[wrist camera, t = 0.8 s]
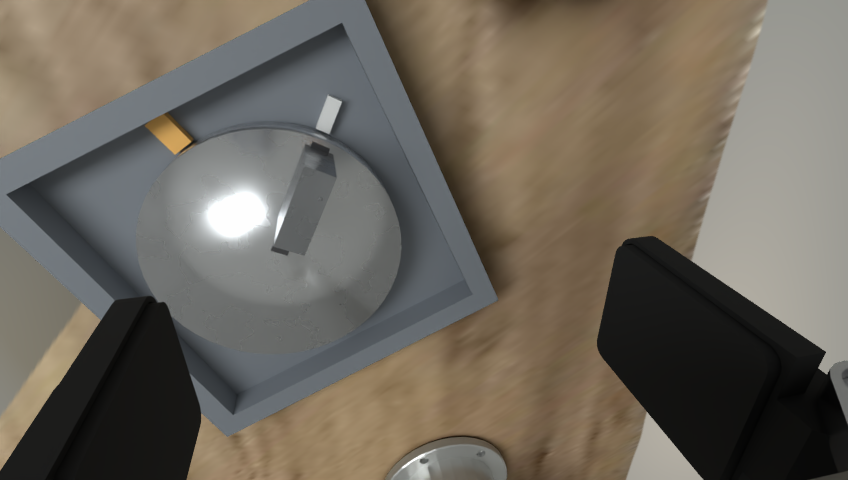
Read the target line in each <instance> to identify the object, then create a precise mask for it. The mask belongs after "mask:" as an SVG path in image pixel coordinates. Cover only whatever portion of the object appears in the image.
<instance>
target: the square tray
mask: <svg viewBox="0 0 848 480" xmlns="http://www.w3.org/2000/svg"><path fill="white" fill-rule="evenodd" d="M267 121H271V122H284V123H291V124H296V125H301V126H306V127H309V128H312V129H315V130H318V131H321V132H323V133H325V134H327V135H329V136H331V137H333V138H335V139H338V140H339V141H341V142H342V143H344V144H345V145H347V146H348V147H350V148H351V149H353V150H354V151H355V152H356V153H357V154H358V155H360V156H361V157H362V158H363V159H364V160H365V161H366V162H367V163H368V164H369V165H370V166H371V168H372V169H373V170H374V171H375V172H376V174H377V175H378V177H379V178H380V180H381V181H382V183H383V185H384V187H385V189H386V191H387V193H388V195H389V197H390V199H391V202H392V204H393V206H394V209H395V212H396V215H397V218H398V221H399V227H400V232H401V257H400V264H399V268H398V272H397V276H396V278H395V280H394V283H393V285H392V288H391V289H390V291H389V293H388V295H387V296H386V298H385V300H384V301H383V302H382V304H381V305H380V306H379V307H378V309H377V310H376V311H375V312H374V313H373V314H372V315H371V316H370V317H369V318H368V319H367V320H366V321H365V322H364V323H362V324H361V325H360V326H359V327H357V328H356V329H355V330H353V331H352V332H350V333H348V334H347V335H345V336H344V337H342V338H339V339H337V340H335V341H333V342H331V343H329V344H326V345H323V346H320V347H318V348H314V349H310V350H306V351H302V352H295V353H288V354H257V353H250V352H243V351H238V350H235V349H231V348H227V347H224V346H221V345H218V344H216V343H213V342H210V341H208V340H206V339H204V338H202V337H200V336H198V335H196V334H195V333H193V332H192V331H190V330H189V329H187V328H186V327H184V326H183V325H181V324H180V323H179V322H178V321H177V320H175V319H174V318H173V317H172V316H171V317H172V320H173V323H174V327H175V330H176V333H177V336H178V339H179V342H180V345H181V348H182V351H183V354H184V357H185V361H186V364H187V367H188V370H189V373H190V376H191V379H192V382H193V385H194V388H195V391H196V395H197V398H198V401H199V404H200V408H201V413H202V414H203V415H204V416H205V417H206V418H208V419H209V420H210V421H211V422H212V423H213V424H214V425H215V426H216V427H217V428H218V429H219V430H221V431H222V432H223V433H224V434H225V435H226V436H227V437H228V436H230V435H232V434H234V433H236V432H238V431H240V430H242V429H244V428H246V427H248V426H250V425H252V424H254V423H256V422H258V421H259V420H261V419H263V418H265V417H267V416H269V415H271V414H273V413H275V412H277V411H279V410H281V409H283V408H285V407H287V406H289V405H291V404H293V403H295V402H297V401H299V400H301V399H303V398H305V397H307V396H309V395H311V394H313V393H315V392H317V391H319V390H321V389H323V388H325V387H327V386H329V385H331V384H333V383H335V382H337V381H339V380H341V379H343V378H345V377H347V376H349V375H351V374H353V373H355V372H357V371H359V370H361V369H363V368H365V367H367V366H369V365H371V364H373V363H375V362H377V361H379V360H380V359H382V358H384V357H386V356H388V355H390V354H392V353H394V352H396V351H398V350H400V349H402V348H404V347H406V346H408V345H410V344H412V343H414V342H416V341H418V340H420V339H422V338H424V337H426V336H428V335H430V334H432V333H434V332H436V331H438V330H440V329H442V328H444V327H446V326H448V325H450V324H452V323H454V322H456V321H458V320H460V319H462V318H464V317H466V316H468V315H470V314H472V313H474V312H476V311H478V310H480V309H482V308H484V307H486V306H488V305H490V304H492V303H494V302H496V301H498V298H497V296H496V293H495V291H494V289H493V287H492V284H491V282H490V280H489V278H488V275H487V273H486V271H485V269H484V266H483V264H482V262H481V260H480V257H479V255H478V253H477V251H476V248H475V246H474V244H473V242H472V239H471V237H470V235H469V233H468V230H467V228H466V226H465V224H464V221H463V219H462V217H461V215H460V213H459V210H458V208H457V206H456V204H455V201H454V199H453V197H452V195H451V192H450V190H449V188H448V186H447V183H446V181H445V179H444V177H443V174H442V172H441V170H440V168H439V165H438V163H437V161H436V159H435V156H434V154H433V152H432V150H431V147H430V145H429V143H428V141H427V138H426V136H425V134H424V132H423V129H422V127H421V125H420V123H419V120H418V118H417V116H416V114H415V111H414V109H413V107H412V105H411V102H410V100H409V98H408V96H407V94H406V91H405V89H404V87H403V85H402V82H401V80H400V78H399V76H398V73H397V71H396V69H395V67H394V64H393V62H392V60H391V58H390V55H389V53H388V51H387V49H386V46H385V44H384V42H383V40H382V37H381V35H380V33H379V31H378V28H377V26H376V24H375V22H374V19H373V17H372V15H371V13H370V10H369V8H368V6H367V4H366V1H365V0H309V1H307V2H305V3H303V4H301V5H299V6H297V7H296V8H294V9H292V10H290V11H288V12H286V13H284V14H282V15H280V16H278V17H276V18H274V19H272V20H270V21H268V22H266V23H264V24H262V25H260V26H258V27H256V28H255V29H253V30H251V31H249V32H247V33H245V34H243V35H241V36H239V37H237V38H235V39H233V40H231V41H229V42H227V43H225V44H223V45H221V46H219V47H217V48H215V49H214V50H212V51H210V52H208V53H206V54H204V55H202V56H200V57H198V58H196V59H194V60H192V61H190V62H188V63H186V64H184V65H182V66H180V67H178V68H176V69H174V70H172V71H171V72H169V73H167V74H165V75H163V76H161V77H159V78H157V79H155V80H153V81H151V82H149V83H147V84H145V85H143V86H141V87H139V88H137V89H135V90H133V91H131V92H130V93H128V94H126V95H124V96H122V97H120V98H118V99H116V100H114V101H112V102H110V103H108V104H106V105H104V106H102V107H100V108H98V109H96V110H94V111H92V112H90V113H89V114H87V115H85V116H83V117H81V118H79V119H77V120H75V121H73V122H71V123H69V124H67V125H65V126H63V127H61V128H59V129H57V130H55V131H53V132H51V133H49V134H47V135H46V136H44V137H42V138H40V139H38V140H36V141H34V142H32V143H30V144H28V145H26V146H24V147H22V148H20V149H18V150H16V151H14V152H12V153H10V154H8V155H6V156H5V157H3V158H1V159H0V227H1V228H2V229H3V230H4V231H5V232H6V233H7V234H8V235H9V236H11V237H12V238H13V239H14V240H15V241H16V242H17V243H18V244H19V245H20V246H21V247H22V248H24V249H25V250H26V251H27V252H28V253H29V254H30V255H31V256H32V257H33V258H34V259H35V260H36V261H38V262H39V263H40V264H41V265H42V266H43V267H44V268H45V269H46V270H47V271H48V272H50V273H51V274H52V275H53V276H54V277H55V278H56V279H57V280H58V281H59V282H60V283H62V285H64V286H65V287H66V288H67V289H68V290H69V291H70V292H71V293H72V294H73V295H74V296H75V297H77V298H78V299H79V300H80V301H81V302H82V303H83V304H84V305H85V306H86V307H87V308H88V309H90V310H91V311H92V312H93V313H94V314H95V315H96V316H97V317H98V318H99V319H100V320H102V318H103V317H104V315H105V314H106V312H107V311H108V309H109V308H110V306H111V304H112V303H113V302H114V301H115V300H118V299H126V298H135V297H143V296H152V297H154V298H155V296H154V295H153V293H152V292H151V290H150V289H149V287H148V285H147V283H146V281H145V279H144V277H143V274H142V271H141V268H140V265H139V261H138V255H137V249H136V229H137V223H138V217H139V213H140V210H141V207H142V205H143V202H144V199H145V197H146V195H147V194H148V192H149V190H150V188H151V187H152V185H153V183H154V182H155V181H156V180H157V178H158V177H159V176H160V175H161V173H162V172H163V171H164V170H165V169H166V168H167V166H168V165H169V164H170V163H171V162H172V161H173V160H174V159H175V158H176V157H177V156H178V155H179V154H180V153H181V152H182V151H184V150H185V149H186V148H187V147H189V146H190V145H192V144H193V143H195V142H196V141H198V140H199V139H201V138H203V137H205V136H207V135H209V134H211V133H213V132H215V131H218V130H221V129H224V128H227V127H230V126H233V125H239V124H244V123H250V122H267ZM155 300H156V301H157V299H156V298H155ZM157 303H158V301H157Z"/></svg>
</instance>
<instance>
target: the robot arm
mask: <svg viewBox="0 0 848 480" xmlns="http://www.w3.org/2000/svg"><path fill="white" fill-rule="evenodd" d="M597 347H598V351H599V353H600V355H601V356H602V358H603V359H604V360H605V361H606V363H607V364H608V365H609V366H610V367H611V369H612V370H613V371H614V372H615V374H616V375H617V376H618V377H619V378H620V380H621V381H622V382H623V383H624V384H625V386H626V387H627V388H628V389H629V390H630V392H631V393H632V394H633V395H634V396H635V398H636V399H637V400H638V401H639V403H640V404H641V405H642V406H643V407H644V409H645V410H646V411H647V412H648V413H649V415H650V416H651V417H652V418H653V419H654V421H655V422H656V423H657V424H658V425H659V427H660V428H661V429H662V430H663V432H664V433H665V434H666V435H667V436H668V438H670V440H671V441H672V442H673V443H674V445H675V446H676V447H677V448H678V450H679V451H680V452H681V453H682V454H683V456H684V457H685V458H686V459H687V461H688V462H689V463H690V464H691V465H692V467H693V468H694V469H695V470H696V471H697V472H698V474H699V475H700V476H701V477H702V478H703V479H704V480H848V361H842V362H838V363H835V364H834V365H833V366H832V367H831V369H830V370H829V372H828V374H825V373H824V372H822V371H821V370H820V369H818V367H819V365H820V363H821V361H822V359H823V357H824V355H825V353H826V352H825V351H824V350H822V349H821V348H819V347H818V346H816V345H815V344H813V343H812V342H810V341H809V340H807V339H806V338H804V337H803V336H801V335H800V334H798V333H797V332H796V331H794V330H793V329H791V328H789V327H788V326H787V325H785V324H784V323H782V322H781V321H779V320H778V319H776V318H775V317H773V316H772V315H770V314H769V313H767V312H766V311H764V310H763V309H761V308H760V307H759V306H757V305H756V304H754V303H753V302H751V301H749V300H748V299H747V298H745V297H743V296H742V295H741V294H739V293H738V292H736V291H735V290H733V289H732V288H730V287H729V286H727V285H726V284H724V283H723V282H721V281H720V280H718V279H717V278H716V277H714V276H712V275H711V274H710V273H708V272H707V271H705V270H703V269H702V268H701V267H699V266H698V265H696V264H695V263H693V262H692V261H690V260H689V259H687V258H686V257H684V256H683V255H681V254H680V253H679V252H677V251H676V250H674V249H673V248H671V247H670V246H668V245H667V244H665V243H664V242H662V241H661V240H659V239H658V238H656V237H654V236H648V237H639V238H631V239H627V240H625V241H624V242H623V244H622V246H620V247H619V248H618V249H617V251H616V254H615V259H614V263H613V268H612V273H611V277H610V282H609V287H608V291H607V296H606V301H605V306H604V310H603V315H602V320H601V324H600V329H599V334H598V338H597ZM200 424H201V408H200V404H199V401H198V398H197V395H196V391H195V388H194V385H193V382H192V379H191V376H190V373H189V370H188V367H187V364H186V361H185V357H184V354H183V351H182V348H181V345H180V342H179V339H178V336H177V333H176V330H175V327H174V323H173V320H172V317H171V314H170V311H169V308H168V306H167V304H166V303H165V302H158V303H157V301H156V300H155V298H154V297H152V296H143V297H135V298H126V299H118V300H115V301H114V302H113V303H112V304H111V306H110V308H109V309H108V311H107V312H106V314H105V315H104V317H103V318H102V320H101V321H100V323H99V324H98V326H97V327H96V329H95V330H94V332H93V333H92V335H91V336H90V338H89V339H88V341H87V343H86V344H85V346H84V347H83V349H82V350H81V352H80V353H79V355H78V356H77V358H76V359H75V361H74V362H73V364H72V365H71V367H70V368H69V370H68V371H67V373H66V375H65V376H64V378H63V379H62V381H61V382H60V384H59V385H58V386H57V387H56V388H55V389H54V390H53V392H52V394H51V395H50V397H49V398H48V400H47V401H46V403H45V404H44V406H43V407H42V409H41V410H40V412H39V413H38V415H37V416H36V418H35V419H34V421H33V422H32V424H31V425H30V427H29V428H28V430H27V431H26V433H25V434H24V436H23V437H22V439H21V440H20V442H19V443H18V445H17V446H16V448H15V450H14V451H13V453H12V454H11V456H10V457H9V459H8V460H7V462H6V463H5V465H4V466H3V468H2V469H1V471H0V480H186V479H187V475H188V471H189V467H190V463H191V459H192V456H193V452H194V448H195V444H196V440H197V436H198V432H199V428H200ZM385 480H507V467H506V465H505V462H504V460H503V457H502V456H501V454H500V452H499V451H498V450H497V449H496V448H495V447H494V446H493V445H491V444H489V443H488V442H486V441H483V440H480V439H476V438H469V437H452V438H446V439H441V440H437V441H434V442H431V443H428V444H426V445H423V446H421V447H419V448H417V449H415V450H414V451H412V452H410V453H409V454H407V455H406V456H404V457H403V458H402V459H401V460H400V461H399V462H397V463H396V464H395V465H394V467H393V468H392V469H391V470H390V471H389V473H388V474H387V476H386V478H385Z"/></svg>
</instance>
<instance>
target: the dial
mask: <svg viewBox="0 0 848 480" xmlns="http://www.w3.org/2000/svg"><path fill="white" fill-rule="evenodd" d="M136 249H137V255H138V261H139V265H140V268H141V271H142V274H143V277H144V279H145V281H146V283H147V285H148V287H149V289H150V290H151V292H152V293H153V295H154V296H155V298H156V299H157V301H158V302H165V303H166V304H167V306H168V308H169V311H170V314H171V316H172V317H173V318H174V319H175V320H177V321H178V322H179V323H180V324H181V325H183V326H184V327H186V328H187V329H189V330H190V331H192V332H193V333H195V334H196V335H198V336H200V337H202V338H204V339H206V340H208V341H210V342H213V343H216V344H218V345H221V346H224V347H227V348H231V349H235V350H238V351H243V352H250V353H257V354H288V353H295V352H302V351H306V350H310V349H314V348H318V347H320V346H323V345H326V344H329V343H331V342H333V341H335V340H337V339H339V338H342V337H344V336H345V335H347V334H348V333H350V332H352V331H353V330H355V329H356V328H357V327H359V326H360V325H361V324H362V323H364V322H365V321H366V320H367V319H368V318H369V317H370V316H371V315H372V314H373V313H374V312H375V311H376V310H377V309H378V307H379V306H380V305H381V304H382V302H383V301H384V300H385V298H386V296H387V295H388V293H389V291H390V289H391V288H392V285H393V283H394V280H395V278H396V276H397V272H398V268H399V264H400V257H401V232H400V227H399V221H398V218H397V215H396V212H395V209H394V206H393V204H392V202H391V199H390V197H389V195H388V193H387V191H386V189H385V187H384V185H383V183H382V181H381V180H380V178H379V177H378V175H377V174H376V172H375V171H374V170H373V169H372V168H371V166H370V165H369V164H368V163H367V162H366V161H365V160H364V159H363V158H362V157H361V156H360V155H358V154H357V153H356V152H355V151H354V150H353V149H351V148H350V147H348V146H347V145H345V144H344V143H342V142H341V141H339V140H338V139H335V138H333V137H331V136H329V135H327V134H325V133H323V132H321V131H318V130H315V129H312V128H309V127H306V126H301V125H296V124H291V123H284V122H271V121H267V122H250V123H244V124H239V125H233V126H230V127H227V128H224V129H221V130H218V131H215V132H213V133H211V134H209V135H207V136H205V137H203V138H201V139H199V140H198V141H196V142H195V143H193V144H192V145H190V146H189V147H187V148H186V149H185V150H184V151H182V152H181V153H180V154H179V155H178V156H177V157H176V158H175V159H174V160H173V161H172V162H171V163H170V164H169V165H168V166H167V168H166V169H165V170H164V171H163V172H162V173H161V175H160V176H159V177H158V178H157V180H156V181H155V182H154V183H153V185H152V187H151V188H150V190H149V192H148V194H147V195H146V197H145V199H144V202H143V205H142V207H141V210H140V213H139V217H138V223H137V229H136Z"/></svg>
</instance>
